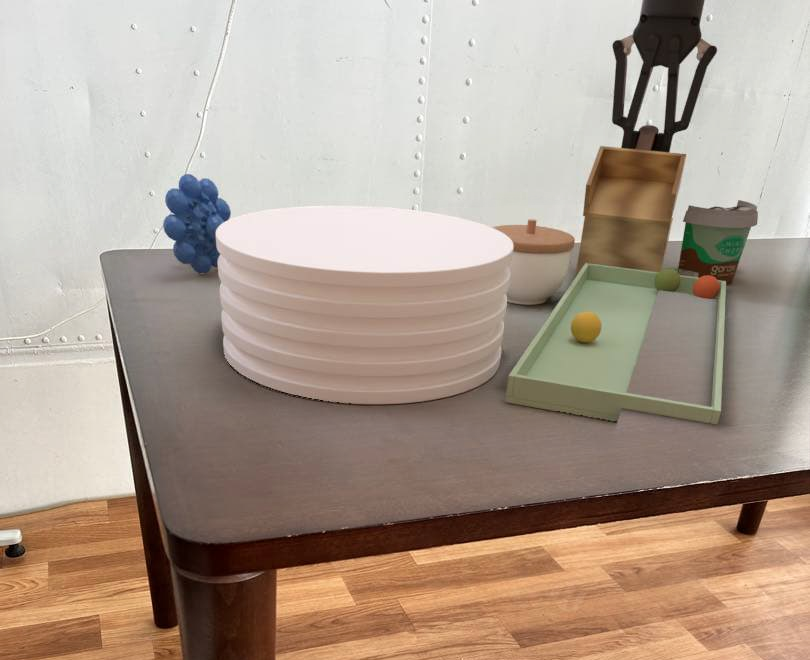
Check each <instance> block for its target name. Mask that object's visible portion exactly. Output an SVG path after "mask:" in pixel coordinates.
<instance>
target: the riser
mask: <svg viewBox="0 0 810 660" xmlns="http://www.w3.org/2000/svg"><path fill="white" fill-rule="evenodd" d="M583 219H584V220H583V225H582V232H581V238H580V243H579V251H578V256H577V262H576V269H575V275H574V277H576V276H577V275H578V273H579V272H580V270H581V269H582V268H583V266H584V265H585V263H589V264H598V265H605V266H613V267H621V268H628V269H636V270H644V271H651V272H660V271H662V270H663V269H664V268H663V267H664V262H665V257H666V254H667V249H668V244H669V239H670V234H671V229H672V225H673V220H674V218H673V217H672V219H671V223H670V226H665V225H657V224H648V223H639V222H631V221H622V220H614V219H605V218H596V217H588V216H584V218H583Z"/></svg>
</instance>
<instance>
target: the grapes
mask: <svg viewBox="0 0 810 660" xmlns="http://www.w3.org/2000/svg"><path fill="white" fill-rule="evenodd" d="M164 198H165V200H164V202H165V206H166V207H167V208H168V211H169V212H170V214H168V215H167V216H165V218H164V220H163V221H162V222H163V223H162V228H163V231H164V233H165V235H166V236H167V237H168V238H169V239H171V240H172V241H175V242H174V243H173V247H172V252H173V255H174V257H175V258H176V260H177V261H178V262H180V263H182V264H183V265H190V267H191V268H192V269H193V271H194V272H196V273H198V274H199V273H205V274H207V273H208V272H210V271H211V269H212V267H213V268H218V258H219V256H220V253H219V252H218V250H217V247H216V230H217V228H218V227H219V226H220V225H221V224H222V223H224V222H225V221H227V220H230V219H231V216H232V215H231V214H232V210H231V208H230V205H229V204H228V203H227V201H226V200H224V199H223V198H221V197H219V190H218V186H217V185H216V183H214V181H213V180H211V179H209V178H204V177H203V178H201V179H198V178H197V177H196V176H194V175H193V174H192V173H191V174H190V173H185V174H183V175H181V177H180V178H179V181H178V188H170V189H169V190H167V192H166V194H165V197H164ZM171 213H172V214H171Z"/></svg>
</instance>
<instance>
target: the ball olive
mask: <svg viewBox="0 0 810 660" xmlns="http://www.w3.org/2000/svg"><path fill="white" fill-rule="evenodd" d="M680 281H681V279H680V275H679V273H678V270H675V269H673V268H671V267H670V268H668V267H667V268H663V269H662V271H660V272H659V273H658V274H657V276H656V278H655V288H656V289H657V291H658V292H659V291H664V292H670V293H676V292H675V291H676V290H677V289H678V287H679V285H680Z"/></svg>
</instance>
